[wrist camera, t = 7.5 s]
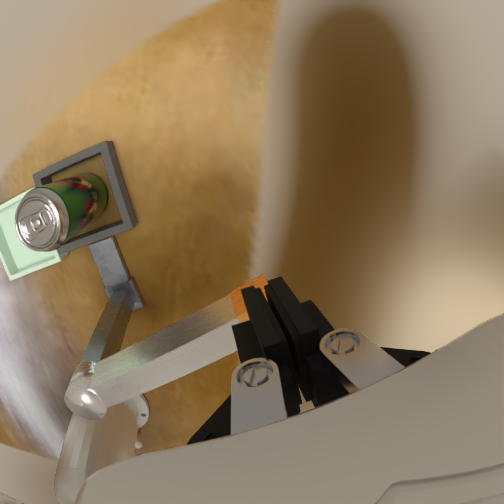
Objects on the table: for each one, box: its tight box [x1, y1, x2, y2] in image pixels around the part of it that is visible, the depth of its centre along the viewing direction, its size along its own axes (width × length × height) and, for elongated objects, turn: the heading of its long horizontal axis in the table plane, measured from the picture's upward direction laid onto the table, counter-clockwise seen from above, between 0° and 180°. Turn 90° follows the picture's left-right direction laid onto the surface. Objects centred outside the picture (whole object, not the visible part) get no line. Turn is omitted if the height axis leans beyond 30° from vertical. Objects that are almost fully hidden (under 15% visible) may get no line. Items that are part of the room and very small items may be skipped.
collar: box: [33, 141, 138, 254], centre depth 28 cm, size 9×9×2 cm
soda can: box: [15, 173, 107, 252], centre depth 23 cm, size 5×5×12 cm
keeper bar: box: [64, 274, 268, 420], centre depth 18 cm, size 17×3×3 cm, turn 117°
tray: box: [0, 187, 69, 281], centre depth 28 cm, size 8×8×2 cm
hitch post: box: [81, 235, 145, 363], centre depth 26 cm, size 9×4×14 cm, turn 14°
